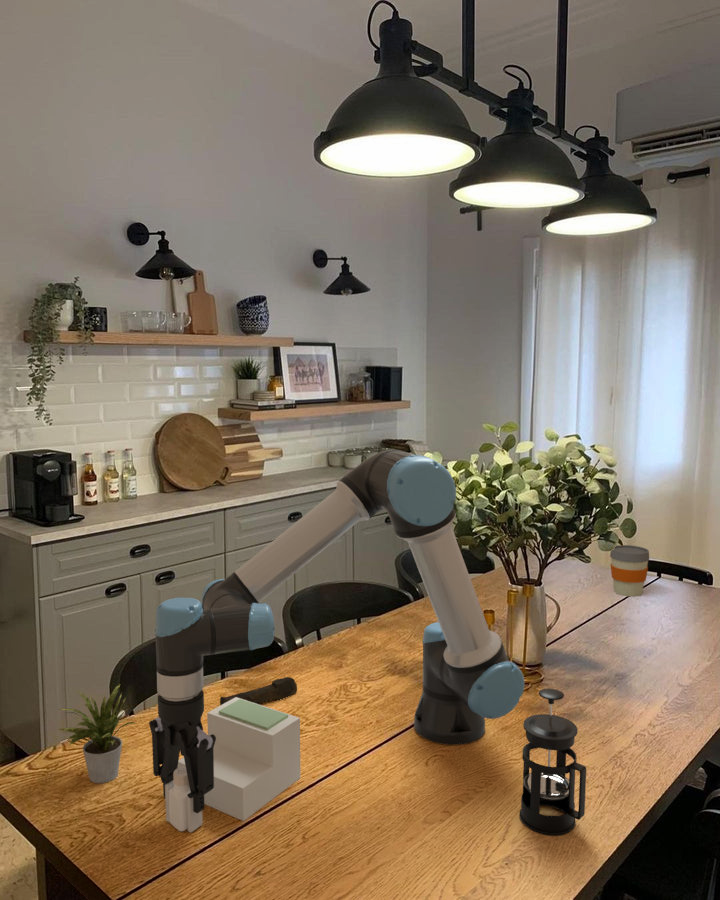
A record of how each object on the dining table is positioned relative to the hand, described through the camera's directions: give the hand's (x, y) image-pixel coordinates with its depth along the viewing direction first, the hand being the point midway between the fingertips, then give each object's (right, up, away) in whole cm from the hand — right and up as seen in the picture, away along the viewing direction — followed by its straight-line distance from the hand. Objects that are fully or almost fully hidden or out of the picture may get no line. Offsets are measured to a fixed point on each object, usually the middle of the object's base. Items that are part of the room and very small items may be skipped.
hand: (184, 822), depth 128 cm
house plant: (-19, +1, +16) cm, 25 cm away
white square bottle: (0, -1, 0) cm, 0 cm away
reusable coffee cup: (+122, +15, +128) cm, 177 cm away
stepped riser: (+8, +1, +12) cm, 14 cm away
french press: (+63, 0, +1) cm, 63 cm away
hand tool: (+7, +5, +46) cm, 46 cm away
